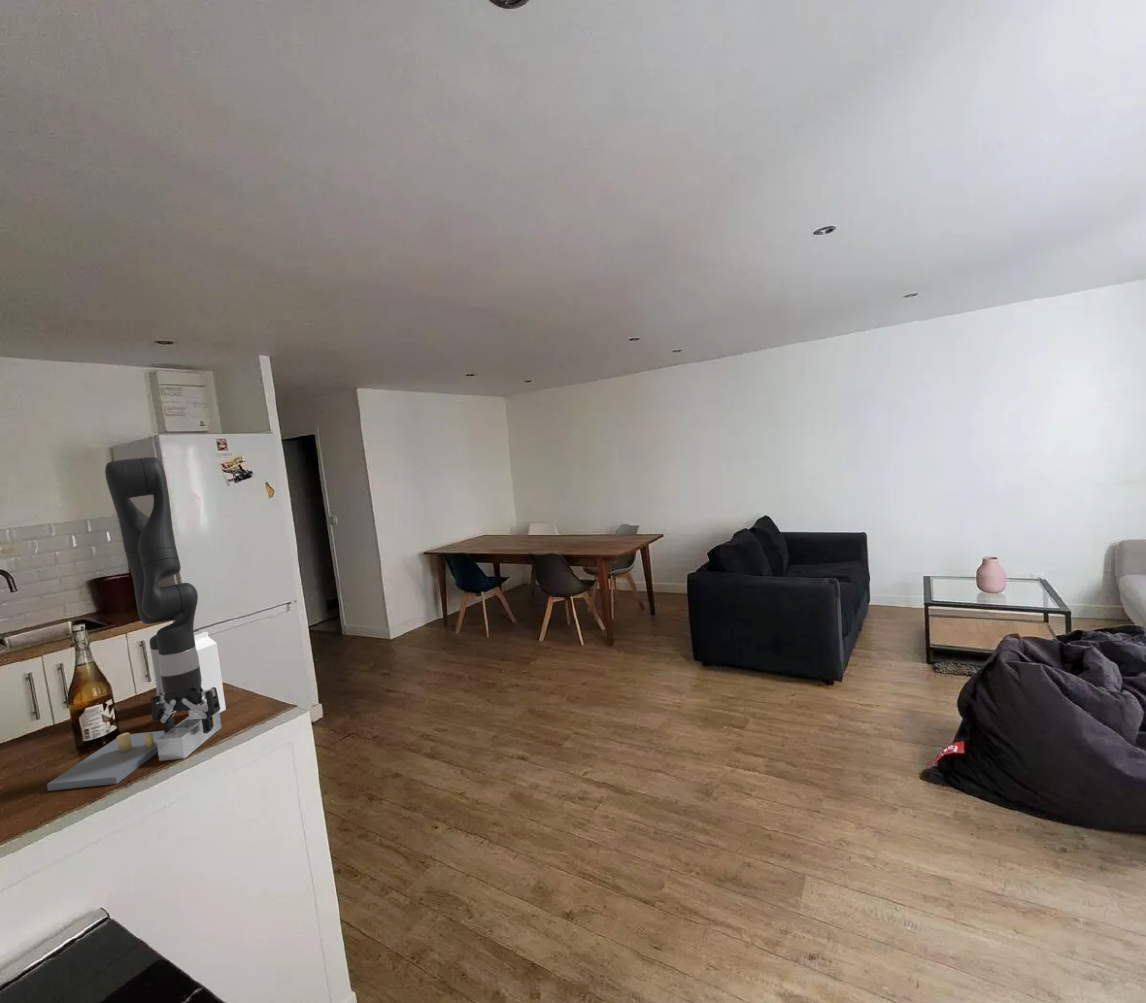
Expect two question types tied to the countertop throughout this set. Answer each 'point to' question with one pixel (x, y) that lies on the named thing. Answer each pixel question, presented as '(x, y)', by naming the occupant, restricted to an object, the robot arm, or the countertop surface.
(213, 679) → the milk
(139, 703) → the countertop surface
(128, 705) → the countertop surface
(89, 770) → the base plate
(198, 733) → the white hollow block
